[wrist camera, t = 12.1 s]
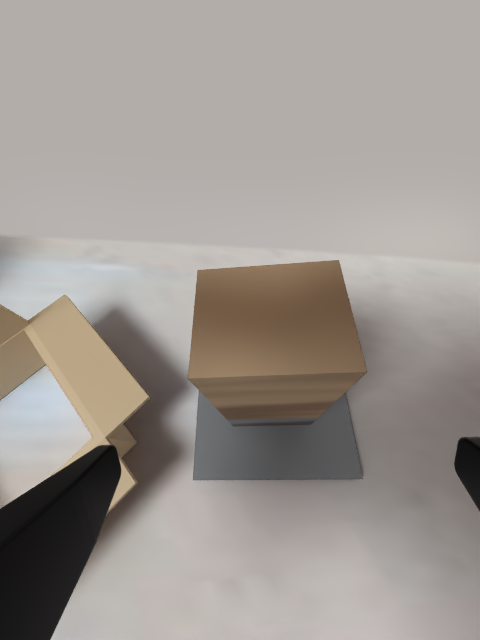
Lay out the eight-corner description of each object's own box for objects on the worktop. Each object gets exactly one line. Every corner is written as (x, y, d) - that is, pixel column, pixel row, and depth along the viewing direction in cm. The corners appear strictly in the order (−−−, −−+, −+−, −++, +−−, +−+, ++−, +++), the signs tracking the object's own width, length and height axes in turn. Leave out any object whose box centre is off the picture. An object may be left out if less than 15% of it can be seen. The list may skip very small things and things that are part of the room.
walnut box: (310, 424, 17) (367, 371, 7) (233, 426, 17) (188, 378, 8) (302, 365, 19) (338, 260, 9) (233, 367, 19) (197, 270, 9)
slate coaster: (359, 478, 16) (362, 479, 15) (195, 479, 16) (192, 480, 16) (330, 329, 20) (331, 325, 20) (204, 335, 21) (202, 332, 21)
